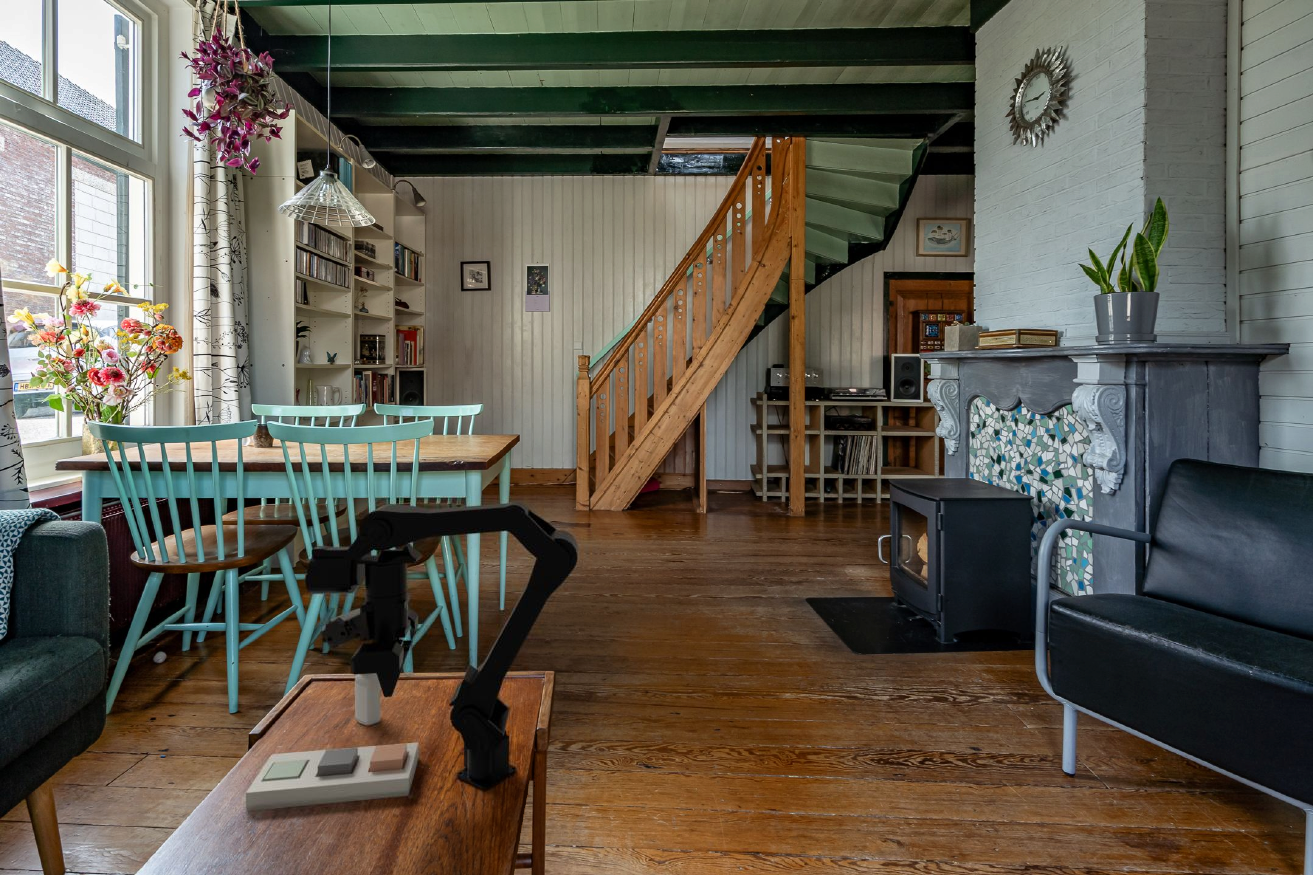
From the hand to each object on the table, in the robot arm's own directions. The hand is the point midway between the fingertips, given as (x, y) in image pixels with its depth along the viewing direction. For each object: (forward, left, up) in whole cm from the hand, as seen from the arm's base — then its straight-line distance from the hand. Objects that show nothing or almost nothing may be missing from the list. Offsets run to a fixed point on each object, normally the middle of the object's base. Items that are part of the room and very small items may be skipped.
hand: (388, 695), depth 100 cm
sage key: (+10, +10, -12) cm, 18 cm away
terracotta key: (0, 0, -11) cm, 11 cm away
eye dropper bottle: (+19, -9, -13) cm, 25 cm away
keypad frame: (+5, +5, -13) cm, 14 cm away
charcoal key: (+5, +5, -11) cm, 13 cm away
